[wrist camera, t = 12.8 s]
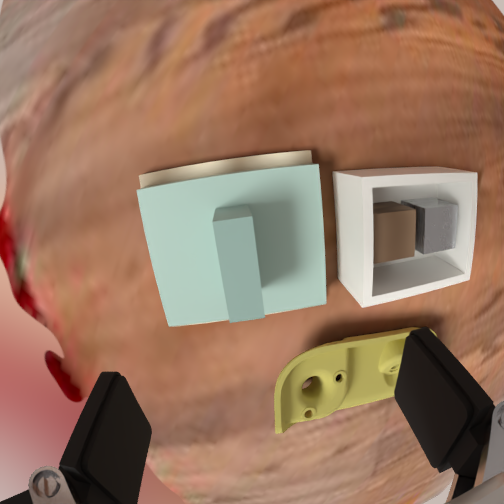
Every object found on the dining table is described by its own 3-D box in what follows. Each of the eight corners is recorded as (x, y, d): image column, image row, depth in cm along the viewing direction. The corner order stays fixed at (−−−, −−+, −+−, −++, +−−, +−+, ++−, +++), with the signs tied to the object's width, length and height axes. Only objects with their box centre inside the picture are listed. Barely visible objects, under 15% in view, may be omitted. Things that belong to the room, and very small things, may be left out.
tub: (437, 166, 25) (477, 172, 19) (435, 258, 28) (469, 279, 23) (332, 171, 25) (361, 177, 19) (337, 278, 28) (362, 307, 22)
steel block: (432, 197, 25) (457, 205, 21) (431, 236, 26) (455, 248, 23) (400, 200, 25) (425, 208, 21) (400, 241, 26) (423, 254, 22)
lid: (312, 163, 23) (340, 166, 17) (320, 294, 27) (343, 331, 21) (143, 187, 23) (116, 198, 17) (172, 316, 27) (159, 358, 21)
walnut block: (392, 201, 25) (416, 209, 21) (392, 242, 26) (414, 256, 22) (353, 205, 25) (374, 214, 21) (355, 248, 26) (374, 263, 22)
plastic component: (439, 325, 29) (433, 404, 27) (403, 322, 36) (400, 391, 34) (273, 350, 25) (274, 446, 24) (258, 338, 33) (260, 418, 31)
